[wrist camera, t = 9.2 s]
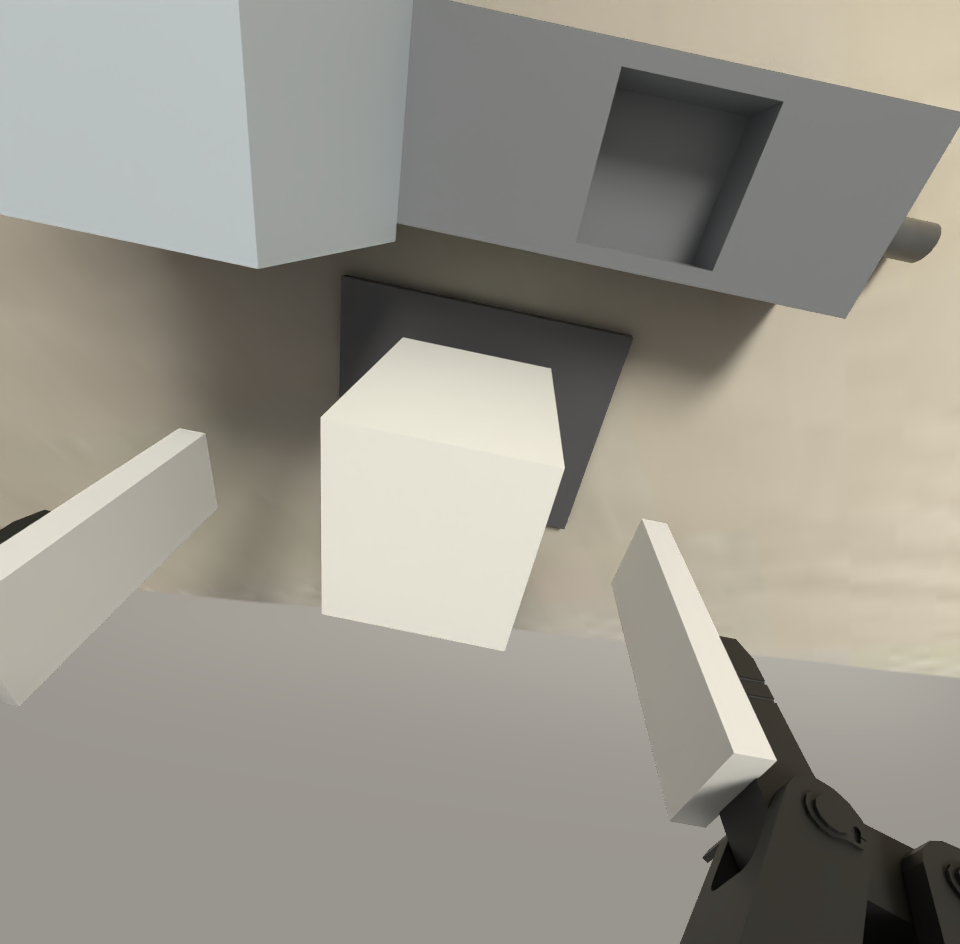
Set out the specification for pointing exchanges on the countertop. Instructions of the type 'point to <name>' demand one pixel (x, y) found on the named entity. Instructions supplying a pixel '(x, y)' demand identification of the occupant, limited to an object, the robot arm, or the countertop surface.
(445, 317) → the mat
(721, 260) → the power strip
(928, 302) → the countertop surface
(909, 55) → the countertop surface
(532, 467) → the block
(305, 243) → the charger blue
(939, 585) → the countertop surface
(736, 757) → the robot arm
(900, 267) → the countertop surface
